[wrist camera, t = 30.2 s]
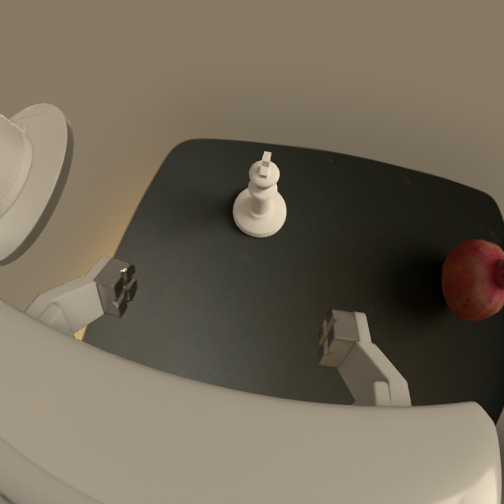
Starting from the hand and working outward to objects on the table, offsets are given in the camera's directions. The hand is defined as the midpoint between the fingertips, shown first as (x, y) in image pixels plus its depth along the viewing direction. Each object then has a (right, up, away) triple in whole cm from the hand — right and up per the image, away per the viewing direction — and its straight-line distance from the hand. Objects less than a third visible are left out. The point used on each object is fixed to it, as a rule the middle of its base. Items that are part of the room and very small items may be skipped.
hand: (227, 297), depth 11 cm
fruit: (+23, -2, +14) cm, 27 cm away
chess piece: (+2, +6, +15) cm, 16 cm away
